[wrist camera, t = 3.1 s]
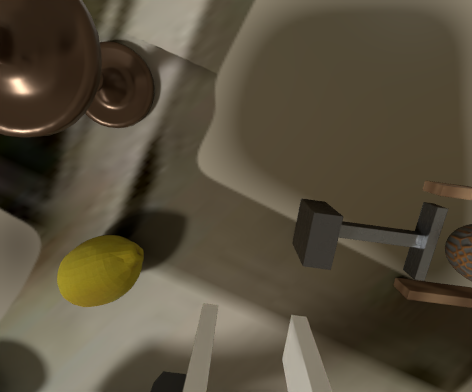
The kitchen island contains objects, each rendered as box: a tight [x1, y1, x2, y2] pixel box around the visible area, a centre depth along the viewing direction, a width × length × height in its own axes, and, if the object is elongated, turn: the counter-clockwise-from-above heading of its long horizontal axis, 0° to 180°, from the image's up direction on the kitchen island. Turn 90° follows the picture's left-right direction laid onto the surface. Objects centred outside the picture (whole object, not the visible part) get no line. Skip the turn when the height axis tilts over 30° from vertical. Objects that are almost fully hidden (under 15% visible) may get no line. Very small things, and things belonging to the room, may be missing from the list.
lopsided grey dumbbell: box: [293, 199, 448, 281], centre depth 30 cm, size 16×9×6 cm, turn 82°
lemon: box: [57, 235, 144, 307], centre depth 31 cm, size 11×8×8 cm
